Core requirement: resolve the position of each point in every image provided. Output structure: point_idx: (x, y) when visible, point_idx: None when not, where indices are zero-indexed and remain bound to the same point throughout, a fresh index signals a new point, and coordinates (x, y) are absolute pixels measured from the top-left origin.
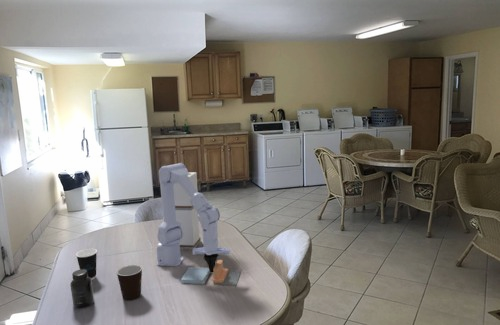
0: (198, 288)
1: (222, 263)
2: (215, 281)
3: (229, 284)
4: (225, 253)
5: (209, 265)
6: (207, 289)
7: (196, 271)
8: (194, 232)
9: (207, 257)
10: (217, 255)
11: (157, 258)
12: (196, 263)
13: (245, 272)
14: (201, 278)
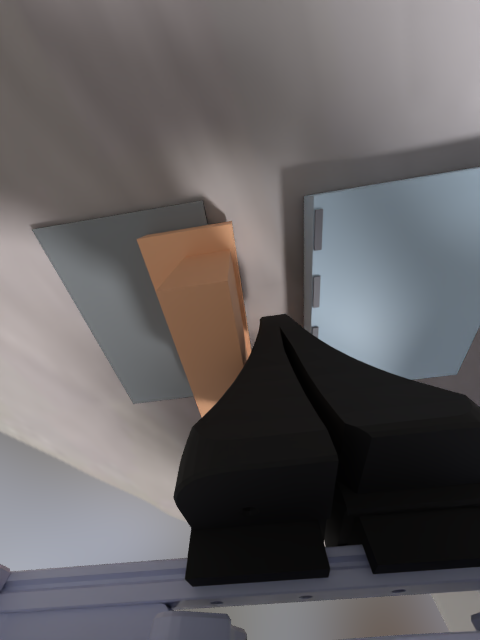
0: (336, 71)
1: None
2: (208, 225)
3: (86, 224)
4: (12, 608)
5: (307, 344)
6: (236, 71)
7: (402, 332)
8: (474, 612)
9: (407, 446)
10: (193, 528)
11: None
12: None
13: (104, 395)
14: (344, 228)
